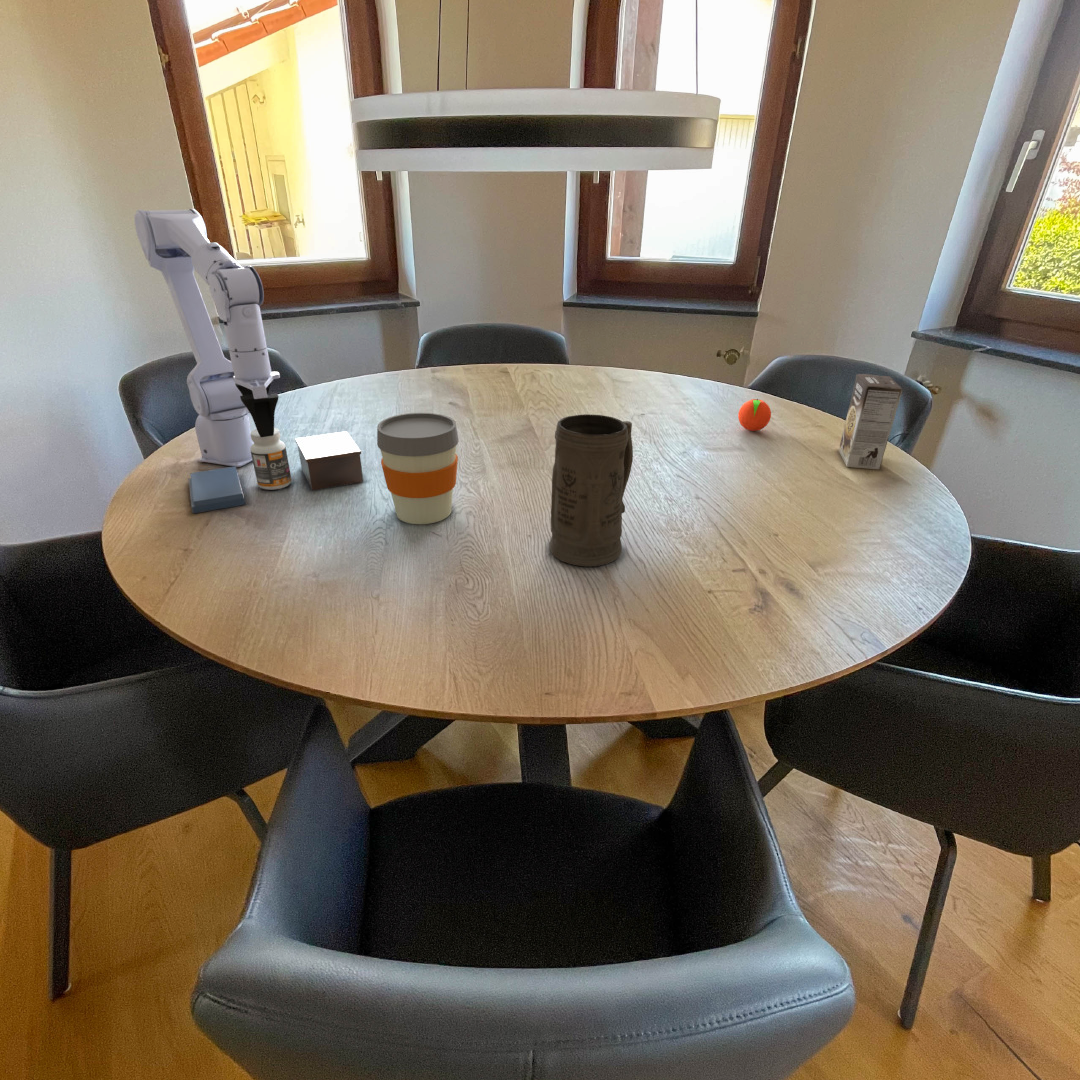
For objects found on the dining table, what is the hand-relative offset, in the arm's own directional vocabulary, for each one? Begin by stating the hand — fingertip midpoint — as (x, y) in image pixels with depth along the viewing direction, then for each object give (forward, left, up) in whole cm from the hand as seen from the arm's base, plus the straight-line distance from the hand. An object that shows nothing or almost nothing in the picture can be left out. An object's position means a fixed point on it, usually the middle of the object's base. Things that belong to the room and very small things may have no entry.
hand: (264, 429), depth 112 cm
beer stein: (+59, -2, -11) cm, 60 cm away
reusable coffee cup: (+30, -1, -11) cm, 32 cm away
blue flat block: (-7, -7, -10) cm, 14 cm away
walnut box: (+7, +7, -10) cm, 14 cm away
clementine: (+80, +60, -11) cm, 101 cm away
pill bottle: (0, 0, -11) cm, 11 cm away
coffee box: (+101, +49, -11) cm, 113 cm away
